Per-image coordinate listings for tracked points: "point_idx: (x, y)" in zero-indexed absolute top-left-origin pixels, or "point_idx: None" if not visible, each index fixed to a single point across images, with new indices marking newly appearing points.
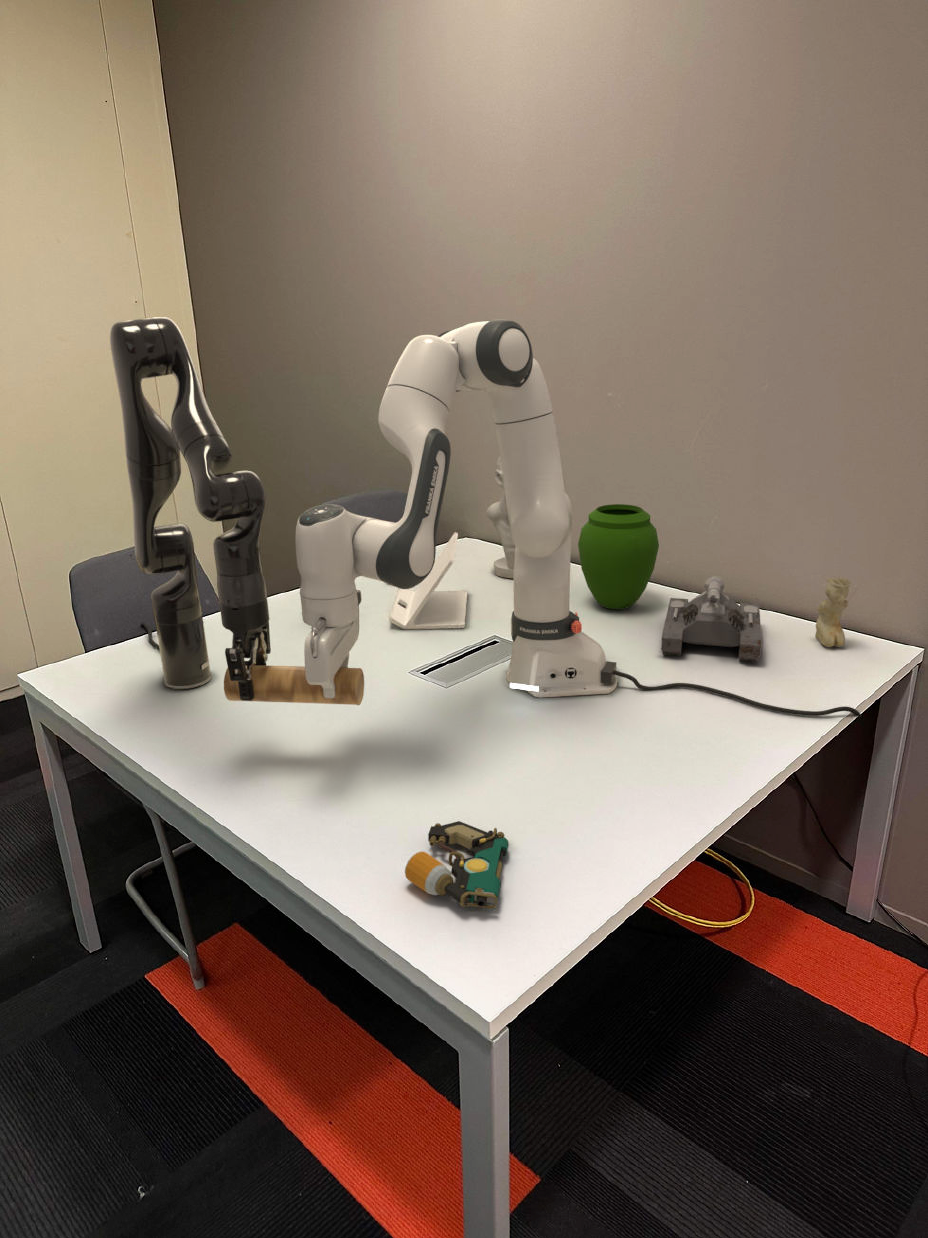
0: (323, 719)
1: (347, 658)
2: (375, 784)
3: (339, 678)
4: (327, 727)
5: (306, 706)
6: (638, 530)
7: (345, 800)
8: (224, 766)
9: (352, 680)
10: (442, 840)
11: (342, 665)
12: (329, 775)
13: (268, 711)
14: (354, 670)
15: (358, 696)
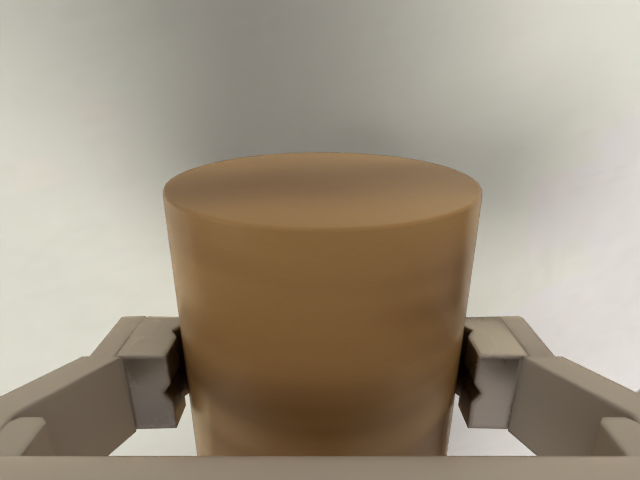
0: (75, 315)
1: (38, 405)
2: (474, 40)
3: (439, 363)
4: (122, 290)
5: (10, 381)
6: None
7: (564, 121)
8: None
9: (462, 241)
10: None
11: (113, 399)
12: None
13: None
14: (342, 270)
15: (382, 165)
